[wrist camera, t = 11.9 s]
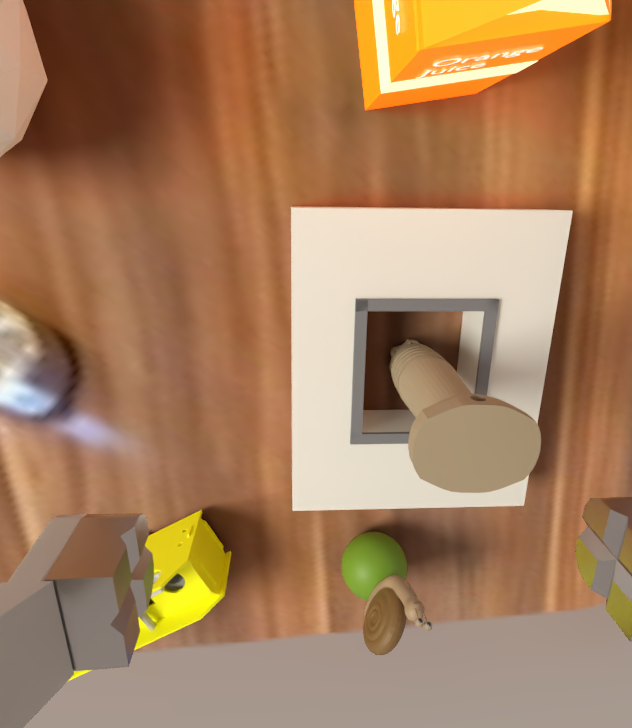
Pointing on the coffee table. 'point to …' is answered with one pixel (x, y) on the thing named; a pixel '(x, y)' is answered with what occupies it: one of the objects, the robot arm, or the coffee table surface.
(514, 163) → the coffee table surface
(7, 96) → the geodesic sphere
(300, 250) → the socket board
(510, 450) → the handle
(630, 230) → the coffee table surface
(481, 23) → the orange juice
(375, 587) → the snail figurine
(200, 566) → the yellow toy chassis
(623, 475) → the coffee table surface
